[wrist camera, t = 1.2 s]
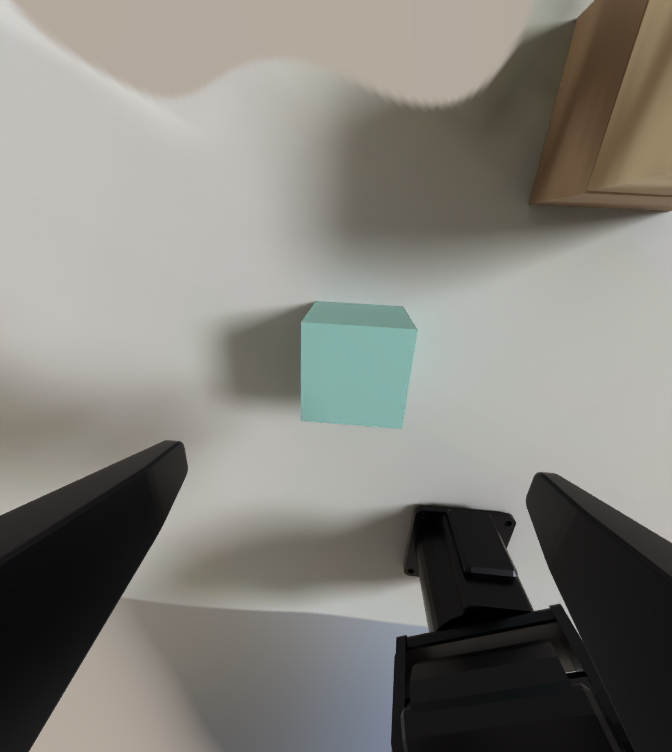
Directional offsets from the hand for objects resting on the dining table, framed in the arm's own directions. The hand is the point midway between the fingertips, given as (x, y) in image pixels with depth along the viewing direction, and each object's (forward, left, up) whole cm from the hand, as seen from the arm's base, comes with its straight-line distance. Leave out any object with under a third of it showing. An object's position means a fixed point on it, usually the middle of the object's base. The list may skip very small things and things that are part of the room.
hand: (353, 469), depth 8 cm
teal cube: (0, 0, -10) cm, 10 cm away
